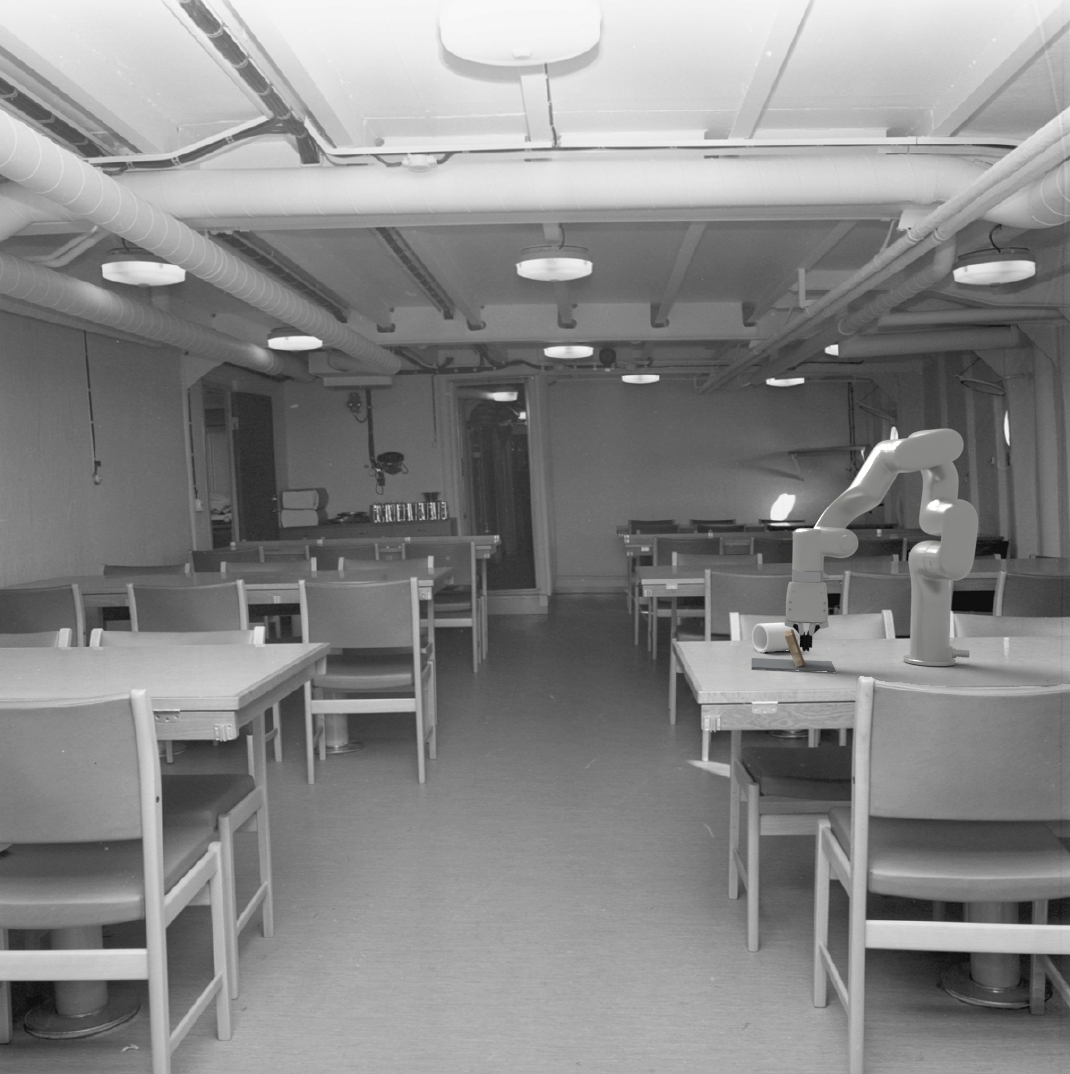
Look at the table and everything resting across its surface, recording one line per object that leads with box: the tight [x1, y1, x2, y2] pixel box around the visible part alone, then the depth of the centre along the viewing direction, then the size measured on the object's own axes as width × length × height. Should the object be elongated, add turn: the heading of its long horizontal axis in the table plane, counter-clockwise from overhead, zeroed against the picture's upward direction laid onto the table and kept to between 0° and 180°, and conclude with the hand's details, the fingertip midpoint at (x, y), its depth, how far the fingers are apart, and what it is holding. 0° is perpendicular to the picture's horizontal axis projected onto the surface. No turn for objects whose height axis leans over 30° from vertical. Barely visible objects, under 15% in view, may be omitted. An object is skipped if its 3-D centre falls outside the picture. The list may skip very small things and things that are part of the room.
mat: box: [751, 657, 837, 673], centre depth 251 cm, size 20×14×1 cm
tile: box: [784, 629, 805, 667], centre depth 250 cm, size 2×9×8 cm, turn 168°
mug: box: [751, 621, 799, 654], centre depth 276 cm, size 12×10×8 cm
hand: (805, 650), depth 250 cm, fingers closed
